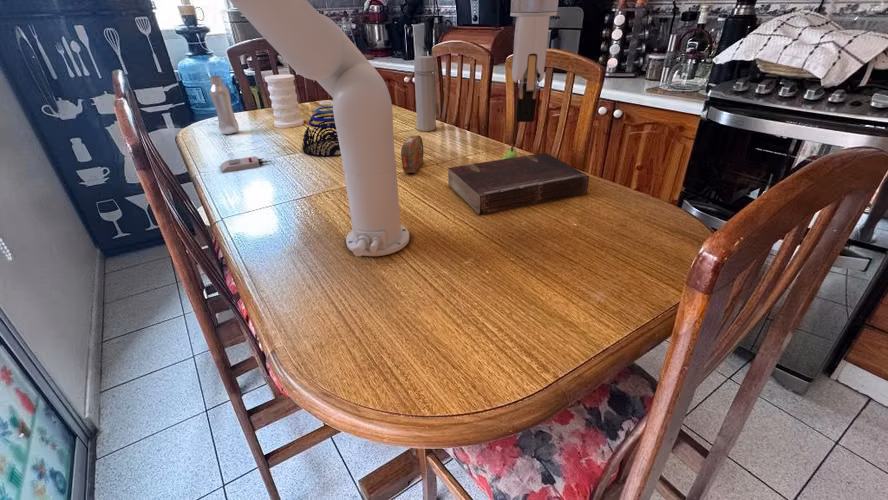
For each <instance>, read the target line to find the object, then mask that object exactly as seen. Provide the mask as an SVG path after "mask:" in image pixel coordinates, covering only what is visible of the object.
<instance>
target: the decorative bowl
mask: <svg viewBox="0 0 888 500" xmlns="http://www.w3.org/2000/svg"><path fill="white" fill-rule="evenodd" d="M318 105H319V106H321V107H318V108H316V109H314V112H315V113H314V114H312V115H311V116H310V118H309V120H308V122H307V123H308V126H307V127H306V129H305V131H304V134H303V138H302V143H301V147H302V151H303V153H304V154H306V155H308V156H311V157H318V158H319V157H321V158H322V157H324V158H329V157H341V153H339V154H336V152H338V151H339V152H340V146H339V140H338V135H337V130H336V125H335V120H334V114H333V100H325V101H320V102H318ZM324 109H331V110H324ZM328 114H329V115H328ZM312 122H318V123H312ZM310 127H312V130H310ZM328 150H329V151H328Z"/></svg>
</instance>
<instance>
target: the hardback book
mask: <svg viewBox="0 0 888 500" xmlns="http://www.w3.org/2000/svg"><path fill="white" fill-rule="evenodd" d="M447 171H448V173H447V174H448V178H447V179H448V186H449V187H450V188H451V189H452V190H453V191H454V192H455V193H456V194H457V195H458V196H459V197H460V198H461V199H462V200H464V201H465V202H466V203H467V204H468V206H470V207H471V208H472V209H473V210H474V211H475V212H476V213H477V214H478V215H486V214H491V213H495V212H500V211H505V210H511V209H516V208H521V207H526V206H531V205H537V204H541V203H546V202H551V201H556V200H561V199H566V198H567V199H568V198H572V197H577V196H581V195H586V194H587V192H588V188H589V182H590V175H588V174H587V173H585V172H583V171H580V170H579V169H577V168H575V167H574V166H572V165H569V164H567V162H564V161H563V160H560V159H558V158H556V157H555V156H553V155H551V154H550V153H547V152H541V153H534V154H527V155H522V156H517V157H514V158H508V159H501V158H500V159H495V160H489V161H482V162H475V163H470V164H463V165H457V166H450V167H447Z"/></svg>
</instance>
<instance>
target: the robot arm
mask: <svg viewBox="0 0 888 500" xmlns="http://www.w3.org/2000/svg"><path fill="white" fill-rule="evenodd" d="M228 1H229V2H230V3H231V4H232V5H233V6H234V7H235V8H236V9H237V10H238V11H239V13H240V14H241V15H242V16H243V17H244V18H245V19H246V20H247V21H248V22H249V23H250V24H251V26H253V27H254V28H253V29H255V30H256V31H257V32H258V33H259V34H260V35H261V36H262V37H263V38H264V40H265V41H266V42H267V43H268V44H269V45H270V46H271V47H272V48H273V49H274V50H275V51H276V52H277V53H278V54H279V55H280V56H281V58H282V59H284V61H285V62H286V63H287V64H288V66H290V68H291V69H292V70H294V72H296V73H297V74H298V75H299V76H301V77H303V78H304V79H308V80H311V81H316V82H317V83H318V85H320V86H321V88H323V89H324V91H326V93H327V94H328V95H329V96H330V98H332V101H333V104H332V106H333V108H332V110H333V113H332V115H334V117H333V118H334V120H335V122H334V123H335V125H336V130H335V131H337V135H338V142H339V143H338V145H339V146H340V150H339V152H340V154H341V156H340V158H341V165H342V170H343V176H344V182H345V189H346V195H347V202H348V209H349V216H350V222H351V228H352V230H351V231H349V232H348V234H347V236H346V238H345V245H346V247H347V249H348V250H349V251H350V252H352V254H353V255H354V256H356V257H362V256H364V257H365V256H366V257H383V256H387V255H391V254H394V253H397V252H399V251H401V250H403V249H404V248H405V247H406V246H407V245H408V244H409V242H410V232H409V229H408V228H407V227H405V226H404V225H402V222H401V210H400V209H401V208H400V199H399V198H400V197H399V186H398V185H399V184H398V173H397V164H396V163H397V162H396V153H395V135H394V113H393V111H394V110H393V104H392V102H393V101H392V98H391V94H390V91H389V88H388V86H387V84H386V82H385V80H384V78H383V76H382V75H381V74H380V73H379V72H378V70H377V69H376V68H375V67H374V66H373V64H372V63H371V62H370V61H369V60H368V59H367V58H366V56H365V55H364V54H363V53H362V52H361V51H360V49H359V48H358V47H357V46H356V45H355V43H353V42H352V40H351V39H350V38H349V37H348V35H347V34H346V33H345V32H344V31H343V30H342V29H341V27H340V26H339V25H338V24H337V23H336V22H335V21H334V20H333V19H332V18H331V17H329V16H327V15H326V14H323V13H320V12H318V11H317V9H316V8H315V7H314V6H313V5H312V4H311V3H310V2H309V1H308V0H228ZM558 9H559V0H510V10H509V11H510V13H509V14H510V15H509V16H510V17H516V20H515V29H514V36H513V37H514V38H513V51H512V66H511V78H512V81H513V83H518V82H519V85H518V87H519V88H518V97H517V99H516V100H517V101H516V115H515V116H516V117H515V119H516V122H518V123H534V122H535V117H536V106H537V98H536V97H537V87H538V84H539V83H541V82H542V81H543V80H544V75H545V74H544V73H545V67H546V58H547V51H548V40H549V28H550V17H554V16H557V15H558Z"/></svg>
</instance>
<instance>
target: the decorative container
mask: <svg viewBox="0 0 888 500" xmlns="http://www.w3.org/2000/svg"><path fill="white" fill-rule="evenodd" d="M295 80H296V78H295V75H294V74H289V73H285V74H283V73H282V74H273V75H272V74H271V75H267V76H265V77H264V82H265V83H267V91H268V92H269V99H270V101H271V108H272V109H273V117H274V119H275V120H274V121H273V127H275V128H280V129H288V128H296V127H299V126H302V125H304V124H305V121H304V118H301V111H300V109H299V105H300V103H299V101H298V99H297V98H298V95H297V92H296V85H295V82H294V81H295Z"/></svg>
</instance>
